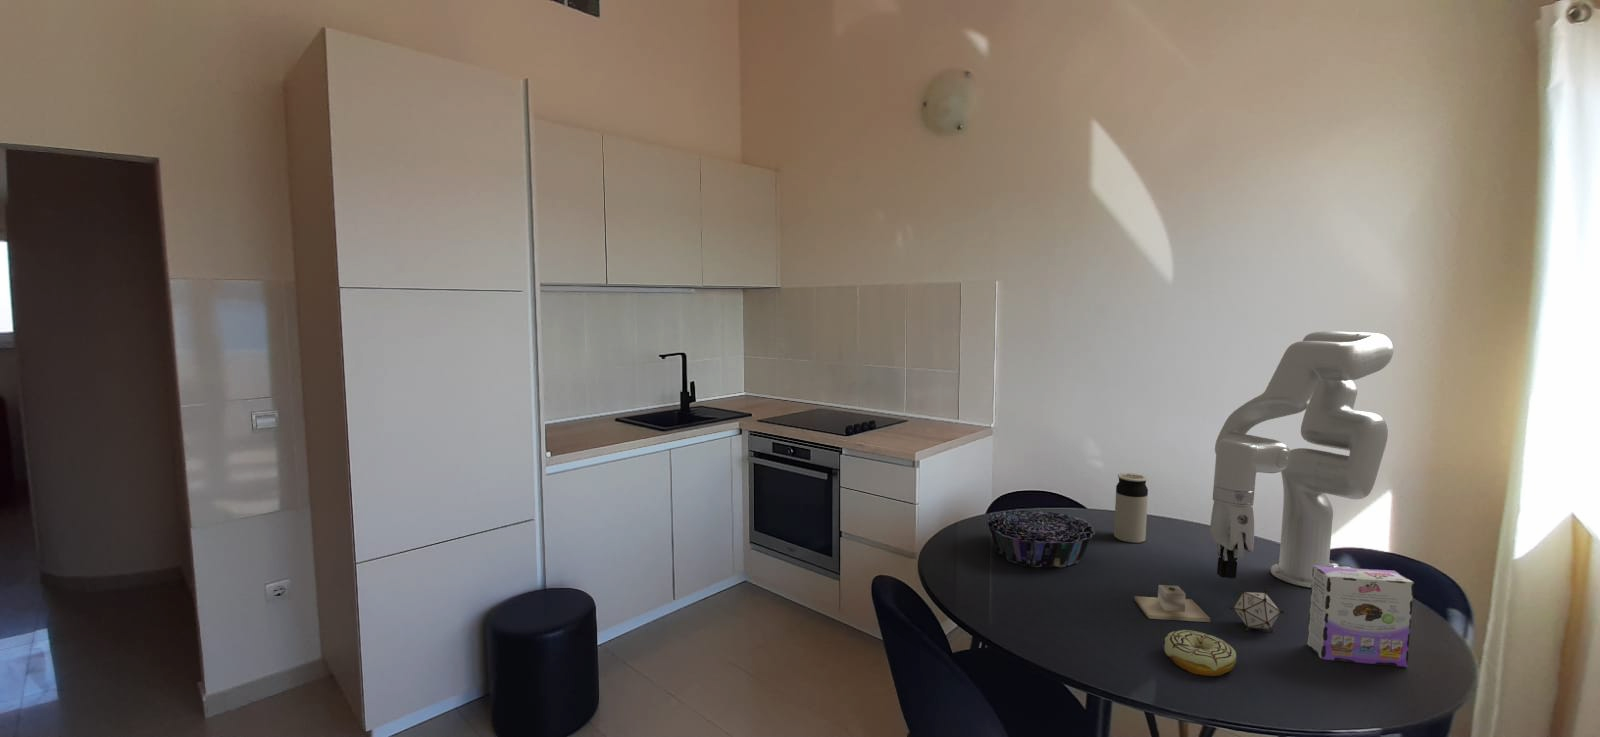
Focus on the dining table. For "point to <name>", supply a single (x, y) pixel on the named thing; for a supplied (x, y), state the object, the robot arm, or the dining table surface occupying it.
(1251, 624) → the game die
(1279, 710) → the dining table surface
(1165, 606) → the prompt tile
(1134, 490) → the travel mug
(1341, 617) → the candy box
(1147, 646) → the dining table surface
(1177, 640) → the decorated donut
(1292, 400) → the robot arm
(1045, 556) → the decorative bowl
